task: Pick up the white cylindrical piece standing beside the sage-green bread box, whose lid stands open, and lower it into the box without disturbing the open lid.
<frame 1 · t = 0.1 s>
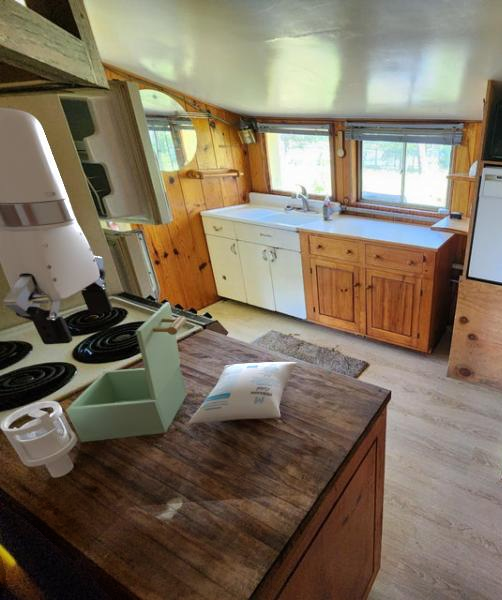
hand: (82, 326, 50), 31 cm above the counter, tool pointing down, fingers open, 9 cm apart
pouch: (252, 402, 80), on the counter
lid: (172, 349, 69), point 17 cm above the counter, hinge at 95.0°
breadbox: (139, 415, 75), on the counter
white cylindrical piece: (63, 470, 62), on the counter
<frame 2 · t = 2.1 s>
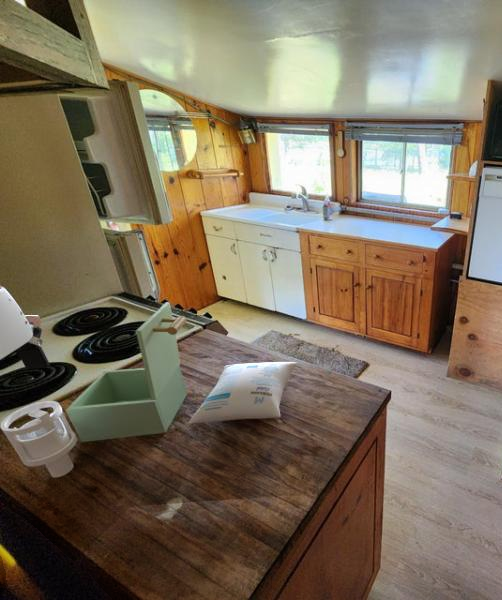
hand: (14, 384, 53), 20 cm above the counter, tool pointing down, fingers open, 9 cm apart
nothing on the counter moved.
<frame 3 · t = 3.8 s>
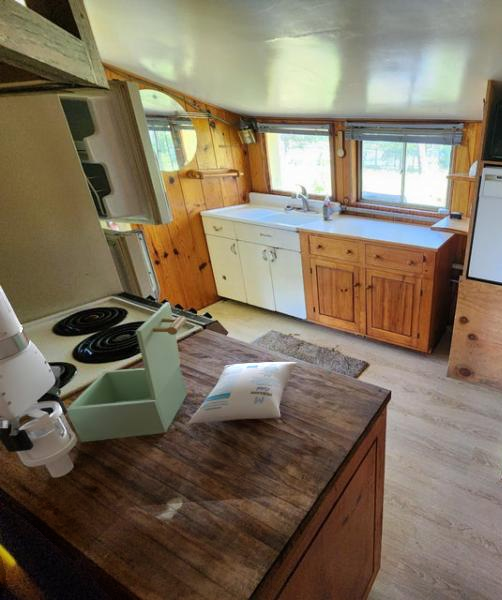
hand: (40, 430, 57), 10 cm above the counter, tool pointing down, fingers closed on white cylindrical piece, 7 cm apart
white cylindrical piece: (63, 470, 62), on the counter, touching gripper
everything else where it was.
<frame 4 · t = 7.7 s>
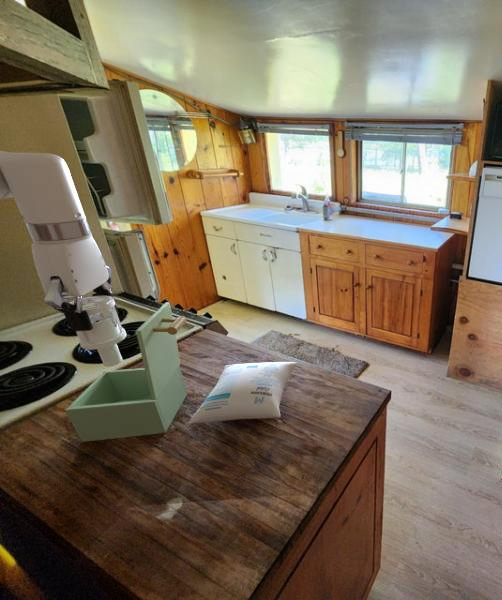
hand: (96, 319, 64), 25 cm above the counter, tool pointing down, fingers closed on white cylindrical piece, 7 cm apart
white cylindrical piece: (113, 363, 68), point 15 cm above the counter, touching gripper
everything else where it was.
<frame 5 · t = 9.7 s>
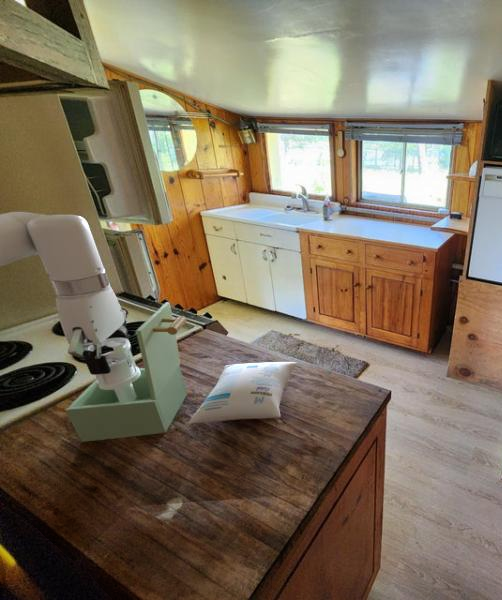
hand: (112, 361, 68), 15 cm above the counter, tool pointing down, fingers closed on white cylindrical piece, 7 cm apart
white cylindrical piece: (128, 399, 72), point 5 cm above the counter, touching gripper
everything else where it was.
when the fingers open (11 cm above the counter, at t = 11.4 s): white cylindrical piece stays where it is, resting on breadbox.
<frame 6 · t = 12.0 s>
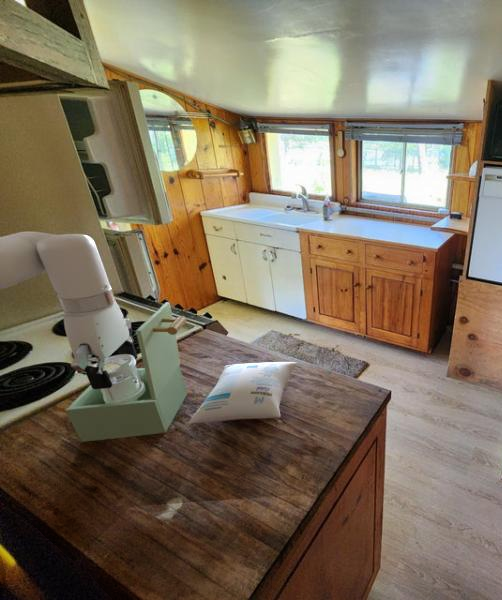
hand: (117, 372, 69), 12 cm above the counter, tool pointing down, fingers open, 9 cm apart
white cylindrical piece: (133, 414, 74), point 1 cm above the counter, touching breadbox
everything else where it was.
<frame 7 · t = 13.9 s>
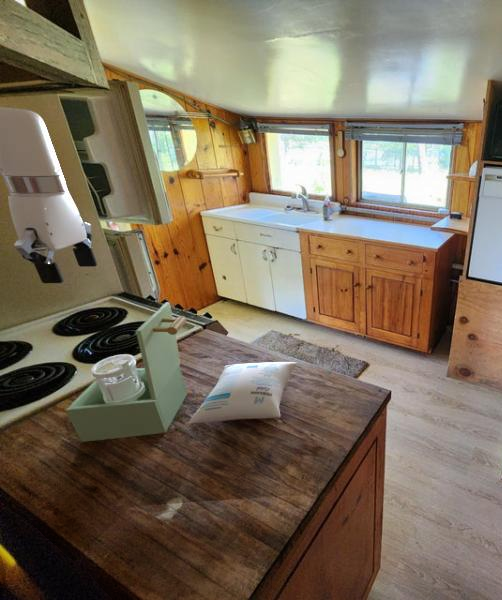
hand: (72, 273, 66), 32 cm above the counter, tool pointing down, fingers open, 9 cm apart
nothing on the counter moved.
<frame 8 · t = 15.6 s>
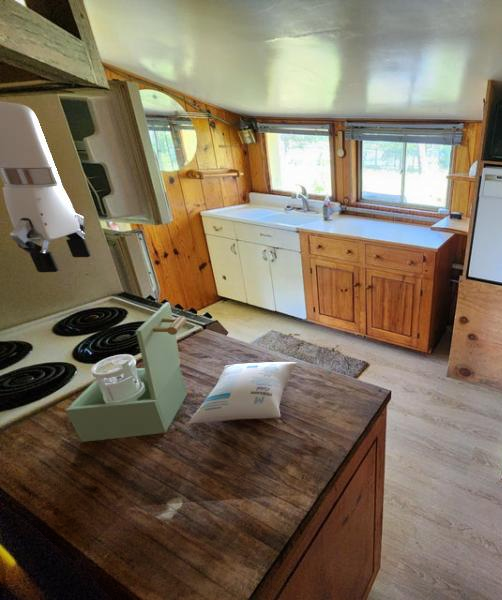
hand: (66, 263, 68), 33 cm above the counter, tool pointing down, fingers open, 9 cm apart
nothing on the counter moved.
at the end: white cylindrical piece inside the target area in the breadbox (1.1 cm from its centre), point 0.6 cm above the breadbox's base; lid at +95° (first picture: +95°) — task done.
